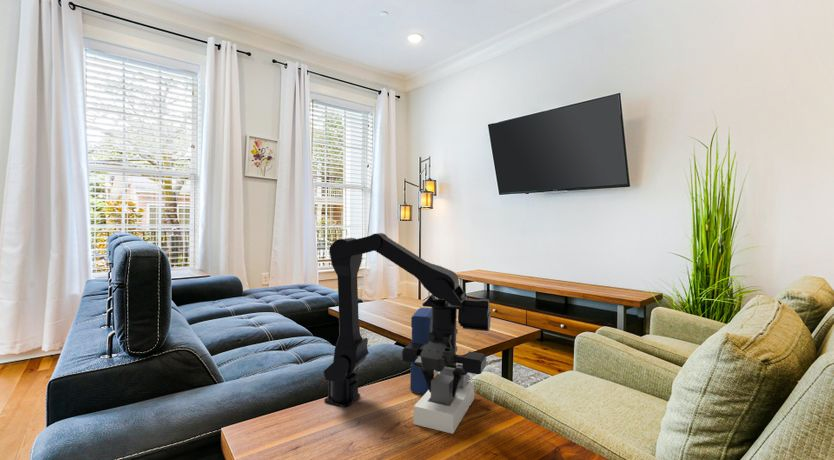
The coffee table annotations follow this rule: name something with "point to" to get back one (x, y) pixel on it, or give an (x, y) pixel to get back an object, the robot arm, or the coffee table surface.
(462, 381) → the grey block
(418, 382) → the electronic device
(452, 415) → the power strip
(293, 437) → the coffee table surface
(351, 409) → the coffee table surface
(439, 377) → the plug
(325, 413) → the coffee table surface
